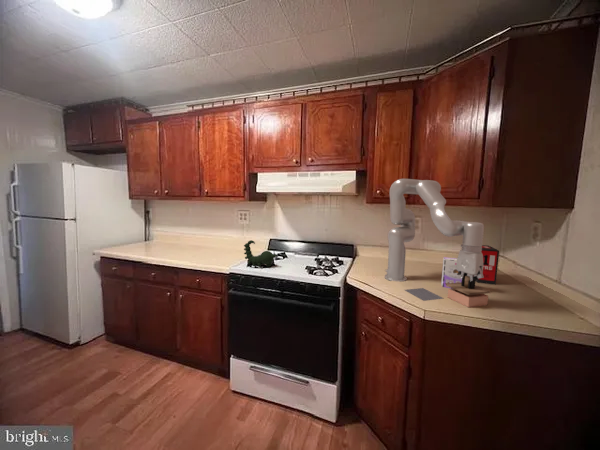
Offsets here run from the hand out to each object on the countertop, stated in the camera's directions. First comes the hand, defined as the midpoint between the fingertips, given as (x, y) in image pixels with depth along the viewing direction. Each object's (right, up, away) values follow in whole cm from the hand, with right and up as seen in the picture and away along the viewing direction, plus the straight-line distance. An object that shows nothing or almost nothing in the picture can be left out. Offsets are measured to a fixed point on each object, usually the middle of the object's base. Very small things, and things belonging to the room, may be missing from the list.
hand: (467, 286), depth 113 cm
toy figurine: (-107, 0, +58) cm, 122 cm away
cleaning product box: (+33, -5, +35) cm, 48 cm away
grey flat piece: (-17, -6, +9) cm, 20 cm away
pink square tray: (0, -8, +1) cm, 8 cm away
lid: (0, -1, 0) cm, 1 cm away
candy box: (+7, -6, +19) cm, 21 cm away
